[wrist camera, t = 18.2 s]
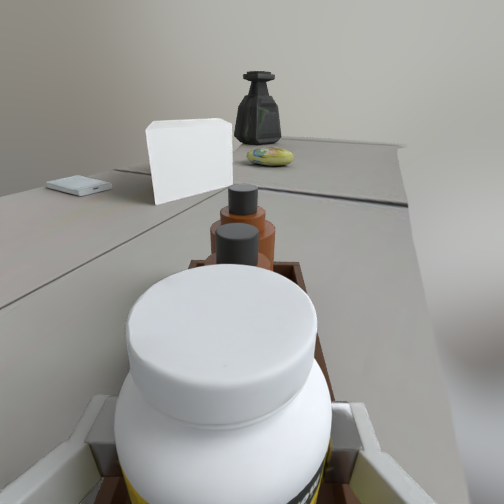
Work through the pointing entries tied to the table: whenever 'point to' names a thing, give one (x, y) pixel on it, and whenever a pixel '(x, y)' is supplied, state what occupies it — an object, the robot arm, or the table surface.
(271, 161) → the cell model
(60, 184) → the hard drive
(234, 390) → the pill bottle
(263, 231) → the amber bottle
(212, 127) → the box
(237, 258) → the amber bottle middle
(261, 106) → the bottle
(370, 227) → the table surface
